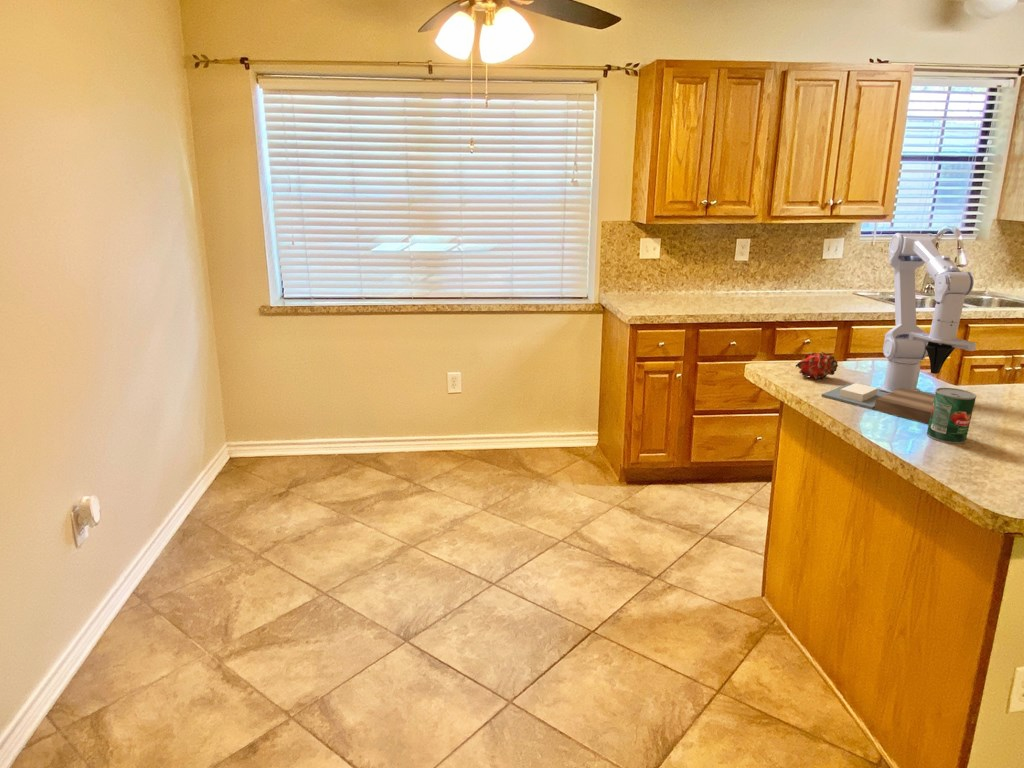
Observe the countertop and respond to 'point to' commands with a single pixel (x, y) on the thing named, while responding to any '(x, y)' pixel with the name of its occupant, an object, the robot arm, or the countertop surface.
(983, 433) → the countertop surface
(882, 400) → the brown wooden slab
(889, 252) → the robot arm
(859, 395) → the cream rectangular slab
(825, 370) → the dragon fruit
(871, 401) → the mat
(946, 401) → the canned tomato
